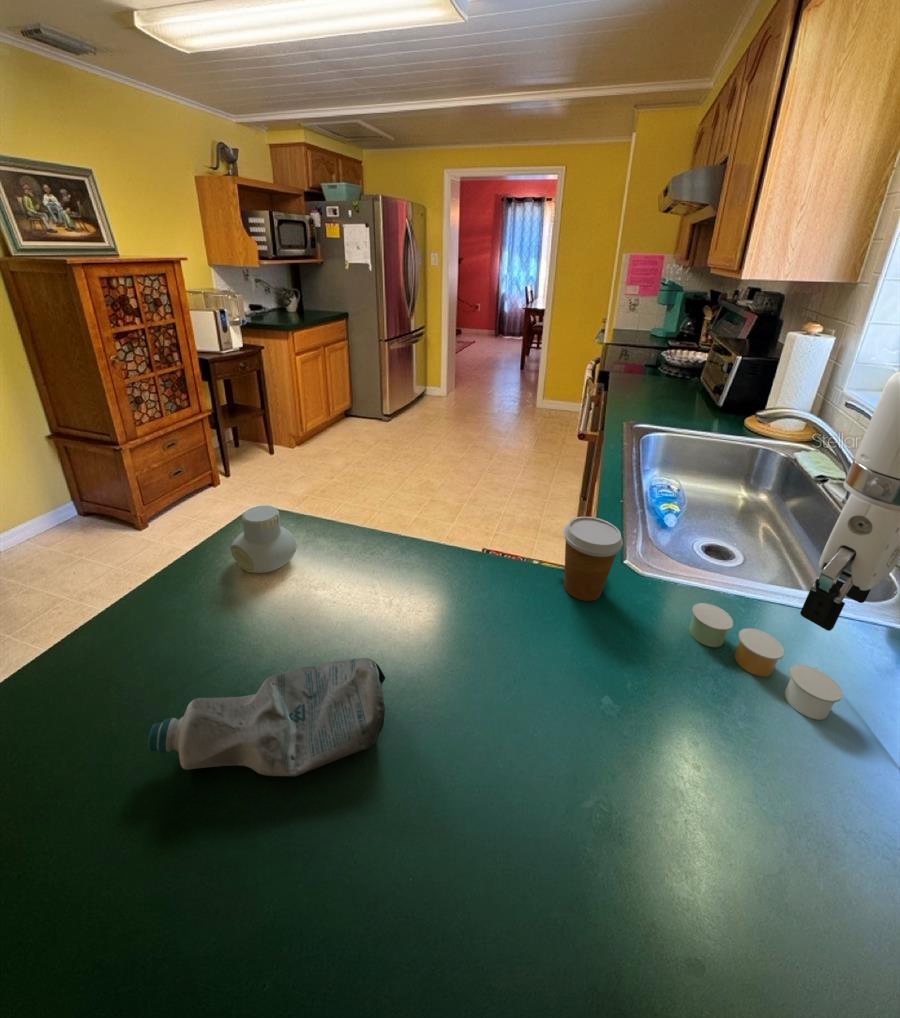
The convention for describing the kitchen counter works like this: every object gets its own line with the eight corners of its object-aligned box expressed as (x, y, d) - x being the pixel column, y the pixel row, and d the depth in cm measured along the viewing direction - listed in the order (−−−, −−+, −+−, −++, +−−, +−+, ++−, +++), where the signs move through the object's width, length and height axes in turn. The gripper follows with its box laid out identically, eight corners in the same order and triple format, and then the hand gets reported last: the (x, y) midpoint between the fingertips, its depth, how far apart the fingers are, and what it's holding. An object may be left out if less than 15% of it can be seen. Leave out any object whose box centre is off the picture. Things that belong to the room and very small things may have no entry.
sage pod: (717, 624, 76) (724, 605, 74) (732, 651, 71) (739, 631, 69) (681, 620, 76) (687, 600, 75) (693, 646, 71) (700, 626, 70)
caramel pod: (763, 651, 71) (772, 631, 70) (783, 682, 66) (792, 661, 64) (725, 645, 72) (732, 625, 70) (741, 676, 66) (749, 655, 65)
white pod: (815, 688, 65) (825, 667, 64) (841, 726, 60) (853, 704, 59) (772, 682, 66) (781, 661, 64) (795, 719, 61) (805, 697, 59)
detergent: (381, 671, 63) (175, 698, 57) (383, 633, 60) (165, 657, 54) (392, 775, 52) (136, 822, 46) (395, 735, 49) (121, 780, 43)
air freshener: (227, 560, 84) (220, 511, 80) (268, 540, 90) (263, 494, 86) (262, 586, 78) (256, 535, 74) (304, 563, 84) (301, 515, 80)
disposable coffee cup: (553, 600, 79) (564, 540, 74) (555, 567, 87) (565, 511, 83) (612, 613, 77) (627, 551, 72) (608, 577, 85) (621, 520, 81)
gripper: (908, 519, 44) (839, 657, 50) (959, 483, 53) (895, 604, 59) (817, 485, 50) (766, 613, 56) (877, 458, 59) (826, 571, 65)
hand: (832, 608), depth 58 cm, fingers open, 9 cm apart
